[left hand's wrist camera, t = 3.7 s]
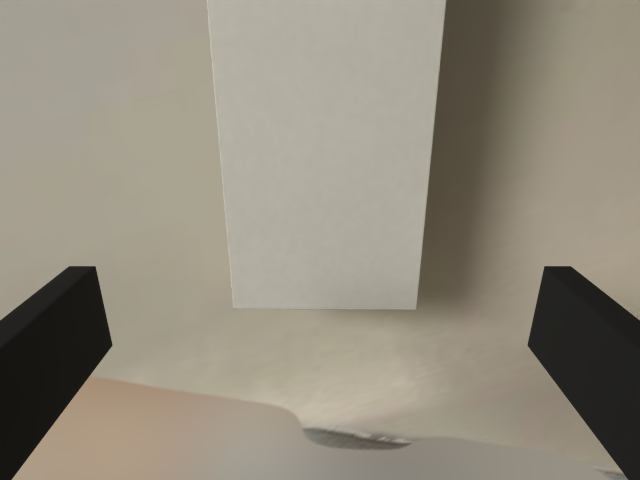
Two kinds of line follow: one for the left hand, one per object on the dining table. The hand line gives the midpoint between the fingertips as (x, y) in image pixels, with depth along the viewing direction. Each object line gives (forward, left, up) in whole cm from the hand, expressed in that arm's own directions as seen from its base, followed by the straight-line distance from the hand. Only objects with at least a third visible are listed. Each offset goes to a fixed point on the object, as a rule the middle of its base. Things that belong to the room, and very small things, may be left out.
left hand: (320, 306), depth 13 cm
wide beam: (+3, -31, -16) cm, 35 cm away
